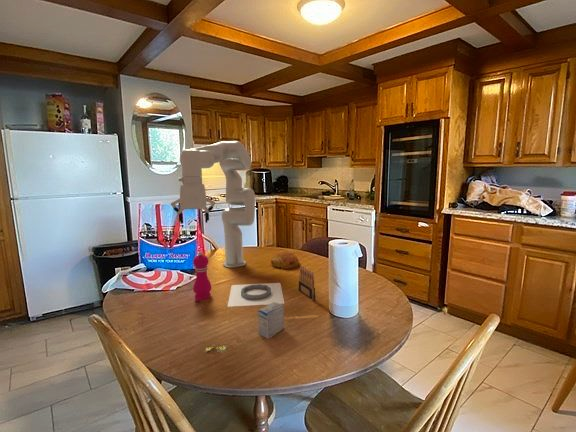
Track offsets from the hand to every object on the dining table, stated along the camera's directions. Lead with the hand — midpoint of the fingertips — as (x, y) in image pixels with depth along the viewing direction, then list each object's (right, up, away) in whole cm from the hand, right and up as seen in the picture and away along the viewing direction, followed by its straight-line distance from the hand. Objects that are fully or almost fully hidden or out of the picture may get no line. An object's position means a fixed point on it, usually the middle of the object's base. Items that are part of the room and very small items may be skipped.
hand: (194, 222), depth 129 cm
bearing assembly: (+17, -38, -35) cm, 54 cm away
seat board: (+25, -31, +4) cm, 40 cm away
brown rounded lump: (+37, -25, +44) cm, 62 cm away
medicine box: (+33, -36, -25) cm, 55 cm away
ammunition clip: (+46, -31, +3) cm, 56 cm away
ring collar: (+25, -30, +3) cm, 39 cm away
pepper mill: (+3, -32, +1) cm, 32 cm away
